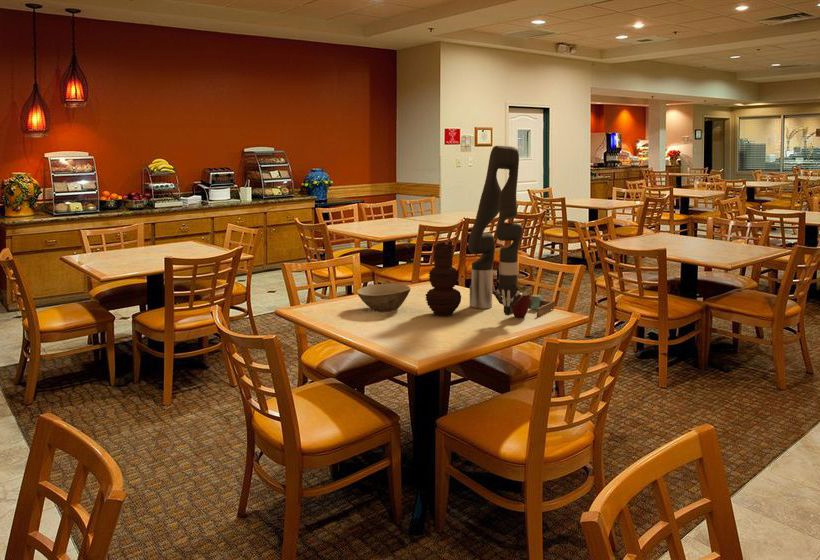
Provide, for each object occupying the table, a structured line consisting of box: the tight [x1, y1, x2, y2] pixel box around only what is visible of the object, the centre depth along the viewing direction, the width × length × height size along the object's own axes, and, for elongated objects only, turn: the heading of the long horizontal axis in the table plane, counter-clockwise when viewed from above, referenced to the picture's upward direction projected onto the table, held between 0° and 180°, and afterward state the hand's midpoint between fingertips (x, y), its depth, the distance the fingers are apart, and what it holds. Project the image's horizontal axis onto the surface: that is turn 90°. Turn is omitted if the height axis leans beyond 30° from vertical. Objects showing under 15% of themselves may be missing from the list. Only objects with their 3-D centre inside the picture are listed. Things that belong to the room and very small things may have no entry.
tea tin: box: [530, 294, 544, 311], centre depth 303 cm, size 4×4×6 cm
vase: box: [424, 243, 462, 318], centre depth 292 cm, size 15×15×30 cm
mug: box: [512, 291, 531, 319], centre depth 288 cm, size 11×8×10 cm
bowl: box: [356, 283, 411, 313], centre depth 304 cm, size 24×24×10 cm
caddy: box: [511, 298, 555, 318], centre depth 299 cm, size 13×17×4 cm
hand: (507, 314), depth 279 cm, fingers closed
